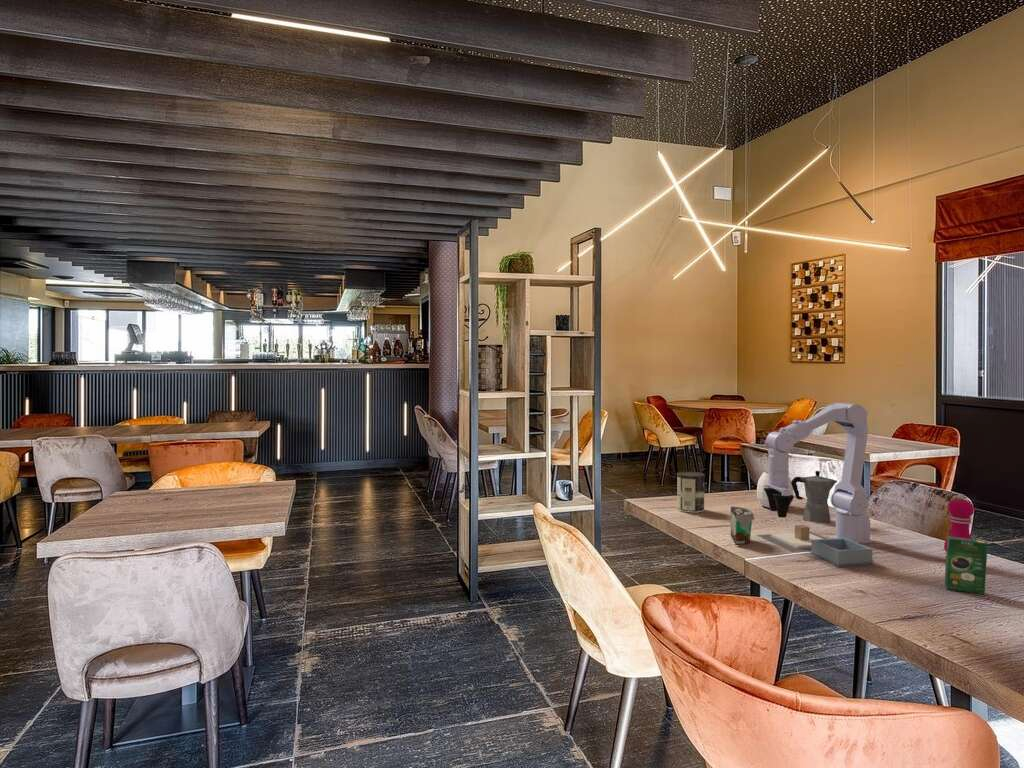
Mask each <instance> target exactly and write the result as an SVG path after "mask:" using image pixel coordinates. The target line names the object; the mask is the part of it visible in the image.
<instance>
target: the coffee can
mask: <svg viewBox="0 0 1024 768" xmlns="http://www.w3.org/2000/svg"><path fill="white" fill-rule="evenodd" d="M705 476H706V475H705V473H703V472H697V471H679V472H676V477H677V479H676V481H677V485H676V486H677V488H676V489H677V490H676V494H677V495H676V503H677V504H676V510H677V509H678V510H677V511H679V510H680V511H679V512H681V511H683V512H682V513H686V512H691V513H690V514H699V512H701V513H704V512H705V478H706V477H705ZM703 511H704V512H703Z"/></svg>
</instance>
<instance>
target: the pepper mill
mask: <svg viewBox="0 0 1024 768" xmlns="http://www.w3.org/2000/svg"><path fill="white" fill-rule="evenodd" d="M947 511H948V512H949V514H950V515H949V521H950V522H951V523H950V525H951V527H950V531H949V534H948V535H947V538H945V541H944V544H943V549H944V551H945V552H946V553H947V540H948V536H951V537H958V538H966V539H972V536H971V532H970V525H971V524H972V517H971V516H972V515H974V513H975V507H974V505H973V504H972V503H971V502H970V501H968V500H966V496H965V494H963V493H959V494H957V496H956V498H955V499H952V500H950V501H949V502H948V504H947Z"/></svg>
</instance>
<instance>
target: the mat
mask: <svg viewBox="0 0 1024 768" xmlns="http://www.w3.org/2000/svg"><path fill="white" fill-rule="evenodd" d="M809 533H810V534H812V535H815V536H817V537H820V538H822V539H828V538H827V537H825V536H822V535H820V534H817V533H814V532H812V531H810V532H809ZM771 534H772V533H770V534H766V533H765V534H756V537H759V538H762V539H763V540H767V541H768V542H770V543H772V544H774V545H777V546H778V547H781V548H782V549H784V550H787V551H790V552H791V553H797V552H798V553H800V552H811V548H800V549H797V548H795V547H792V546H790V545H788V544H786V543H784V542H781V541H779V540H777V539H775V538H773V537H771Z"/></svg>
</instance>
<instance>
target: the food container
mask: <svg viewBox="0 0 1024 768" xmlns="http://www.w3.org/2000/svg"><path fill="white" fill-rule="evenodd" d="M753 521H755V516H754V513H753V511H752V510H751V509H749V508H746V507H739V506H730V537H731V538H732V541H733V542H734V543H735V544H734V543H733V544H734V546H735V545H740V546H742V545H743V546H744V545H748V544H750V542H751V534H752V533H751V532H752V524H753V523H752V522H753Z"/></svg>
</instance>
